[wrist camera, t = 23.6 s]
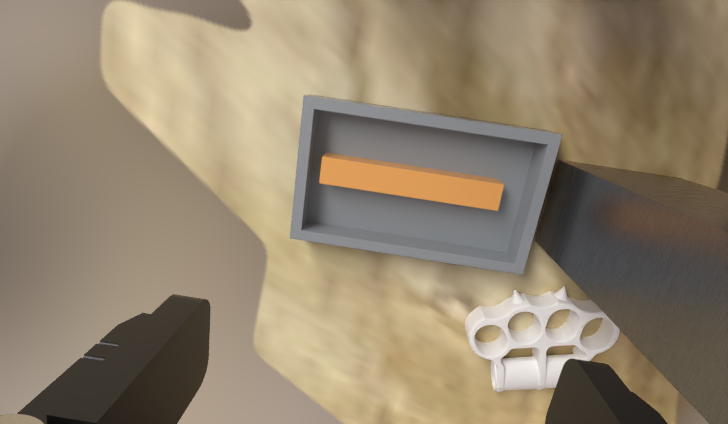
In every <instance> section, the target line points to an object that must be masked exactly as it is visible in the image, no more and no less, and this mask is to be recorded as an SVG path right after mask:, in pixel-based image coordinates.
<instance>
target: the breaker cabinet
mask: <svg viewBox="0 0 728 424" xmlns="http://www.w3.org/2000/svg"><path fill="white" fill-rule="evenodd" d="M535 241H536V242H537V243H538V244H539V245H540V246H541V247H542V248H543V249H544V250H545V251H546V253H547V254H548V255H549V256H550V257H551V258H552V259H553V260H554V261H555V262H556V263H557V264H558V265H559V266H560V267H561V268H562V269H563V270H564V271H565V272H566V273H567V275H568V276H569V277H570V278H571V279H572V280H573V281H574V282H575V283H576V284H577V285H578V286H579V287H580V288H581V289H582V290H583V291H584V292H585V293H586V294H587V296H588V297H589V298H590V299H591V300H592V301H593V302H594V303H595V304H596V305H597V306H598V307H599V308H600V309H601V310H602V311H603V312H604V313H605V314H606V315H607V317H608V318H609V319H610V320H611V321H612V322H613V323H614V324H615V325H616V326H617V327H618V328H619V329H620V330H621V331H622V332H623V333H624V334H625V335H626V336H627V338H628V339H629V340H630V341H631V342H632V343H633V344H634V345H635V346H636V347H637V348H638V349H639V350H640V351H641V352H642V353H643V354H644V355H645V356H646V357H647V359H648V360H649V361H650V362H651V363H652V364H653V365H654V366H655V367H656V368H657V369H658V370H659V371H660V372H661V373H662V374H663V375H664V376H665V377H666V378H667V379H668V381H669V382H670V383H671V384H672V385H673V386H674V387H675V388H676V389H677V390H678V391H679V392H680V393H681V394H682V395H683V396H684V397H685V398H686V399H687V400H688V402H689V403H690V404H691V405H693V407H694V408H695V409H696V410H697V411H698V412H699V413H700V414H701V415H702V416H703V417H704V418H705V419H706V420H707V421H708V422H709V424H728V193H726V192H722V191H719V190H716V189H713V188H710V187H707V186H703V185H700V184H697V183H694V182H691V181H687V180H684V179H681V178H675V177H668V176H662V175H655V174H649V173H642V172H635V171H629V170H622V169H616V168H609V167H603V166H596V165H590V164H583V163H577V162H570V161H563V160H558V163H557V167H556V170H555V174H554V177H553V180H552V184H551V187H550V191H549V194H548V198H547V201H546V205H545V208H544V212H543V215H542V219H541V222H540V226H539V229H538V233H537V236H536V240H535Z"/></svg>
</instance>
